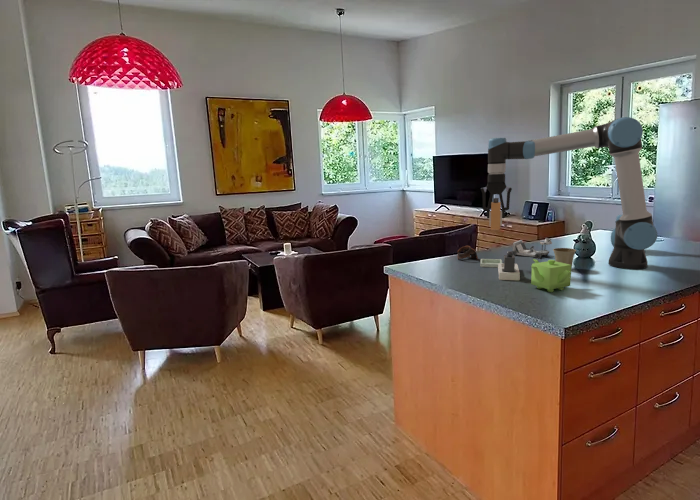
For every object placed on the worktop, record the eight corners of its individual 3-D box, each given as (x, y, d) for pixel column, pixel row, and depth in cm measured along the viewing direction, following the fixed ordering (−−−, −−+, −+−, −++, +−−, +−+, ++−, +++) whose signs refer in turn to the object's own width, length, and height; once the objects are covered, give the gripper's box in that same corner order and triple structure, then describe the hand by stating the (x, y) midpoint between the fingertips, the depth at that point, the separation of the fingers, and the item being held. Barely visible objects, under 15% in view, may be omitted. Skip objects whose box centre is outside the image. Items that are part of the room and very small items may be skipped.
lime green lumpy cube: (529, 292, 177) (530, 263, 175) (528, 283, 191) (529, 255, 188) (573, 294, 172) (575, 264, 170) (569, 285, 186) (571, 257, 184)
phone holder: (554, 237, 238) (546, 240, 230) (553, 256, 240) (545, 260, 231) (519, 234, 250) (510, 237, 241) (518, 252, 252) (509, 256, 243)
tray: (501, 263, 226) (501, 259, 225) (502, 268, 216) (502, 264, 215) (480, 262, 228) (480, 258, 228) (480, 267, 218) (480, 263, 218)
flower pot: (548, 269, 212) (549, 250, 210) (556, 265, 218) (557, 247, 217) (570, 272, 205) (571, 252, 204) (578, 268, 212) (579, 249, 210)
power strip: (516, 270, 212) (517, 246, 209) (519, 280, 195) (520, 254, 192) (498, 269, 214) (498, 245, 212) (499, 279, 197) (499, 253, 195)
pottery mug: (481, 262, 231) (474, 249, 228) (463, 271, 233) (456, 258, 230) (476, 252, 242) (469, 239, 239) (459, 260, 244) (452, 247, 241)
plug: (499, 228, 218) (500, 197, 215) (500, 229, 213) (500, 198, 211) (490, 228, 219) (491, 197, 216) (490, 229, 214) (491, 198, 212)
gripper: (516, 172, 212) (514, 224, 217) (477, 173, 217) (476, 224, 222) (517, 173, 205) (515, 226, 210) (476, 174, 210) (475, 226, 215)
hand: (495, 225), depth 216 cm, fingers closed on plug, 4 cm apart
